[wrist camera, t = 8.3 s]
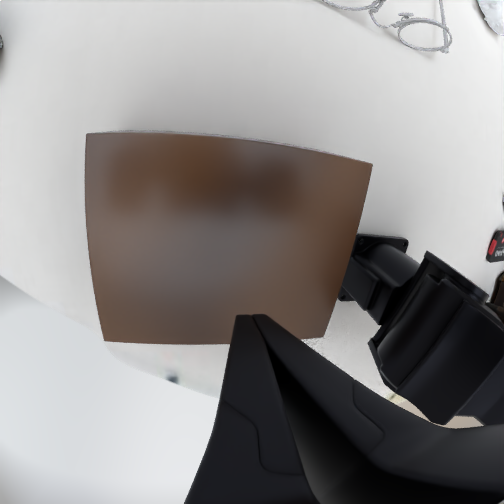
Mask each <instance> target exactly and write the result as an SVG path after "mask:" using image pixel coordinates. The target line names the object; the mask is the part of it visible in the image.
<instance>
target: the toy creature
mask: <svg viewBox="0 0 504 504" xmlns="http://www.w3.org/2000/svg"><path fill="white" fill-rule="evenodd" d="M478 3H479V6H480V9H481V10H482V12H483V14H484V15H485V18H484V19H483V20H486V21H487V23H488V25H489V26H490V27H491V28H492V30H493V31H495V32H496V33H497V34H499V35H502V36H504V0H478Z"/></svg>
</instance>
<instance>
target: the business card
mask: <svg viewBox="0 0 504 504" xmlns="http://www.w3.org/2000/svg"><path fill="white" fill-rule="evenodd" d="M486 259H487V260H488V261H489V262H490V263H491V262H498V261H504V231H498V232H497V233H496V235H495V237H494V239H493V241H492V243H491V246H490V248H489V250H488V255H487V258H486Z"/></svg>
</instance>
